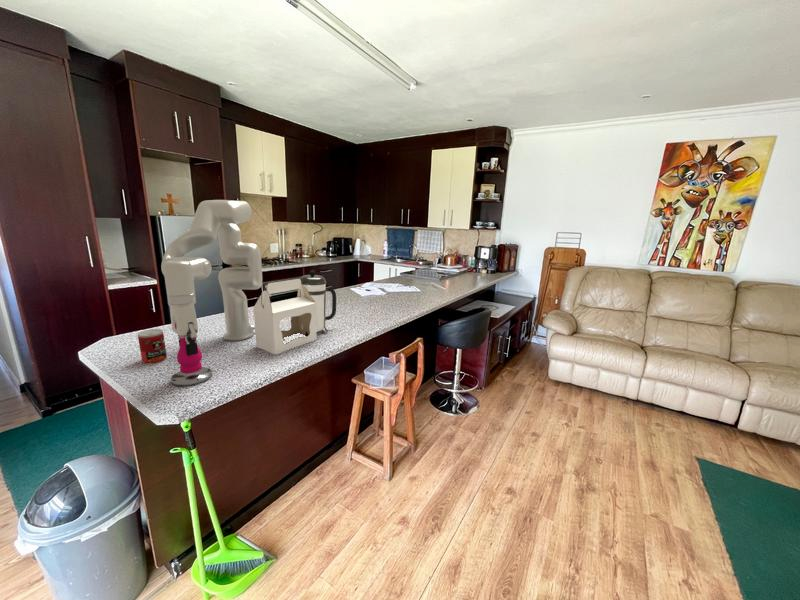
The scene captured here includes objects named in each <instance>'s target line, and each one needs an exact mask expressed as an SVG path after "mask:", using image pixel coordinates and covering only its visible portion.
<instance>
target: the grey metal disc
mask: <svg viewBox="0 0 800 600" xmlns="http://www.w3.org/2000/svg"><path fill="white" fill-rule="evenodd" d="M211 378H213V370H212V369H211V368H210V367H206V366H205V367H204V366H202V369H201V370H199V371H197V372H194V373H187V374H186V373H182V372H181V371H178V372H176V373H174V374H173V375H171V377H170V384H171V385H172V386H173V387H178V388H183V387H184V388H185V387H192V386H197V385H200V384H204V383H205V382H207V381H209V380H210V379H211Z"/></svg>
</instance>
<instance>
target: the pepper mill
mask: <svg viewBox="0 0 800 600" xmlns="http://www.w3.org/2000/svg"><path fill="white" fill-rule="evenodd" d="M176 326H177V325H176V324H175V329H177V327H176ZM187 334H190V332H188V333H187ZM178 337H179V338H180V347H179V349H178V351H177V356H176V361H177V363H178V364H179V370H180V371H181V372H182V373H186V374H187V373H194V372H197V371H199V370H201V369H202V367H203V363H202V362H201V361H202V359H203V357H204V356H203V353H202V351H201V349H200V348H199V345H197V348H198V353H197V354H194V355H190V356H187V354H186V347H185V344H186V340H185V336H183V337H182V336H180V335H178V334H177V338H178ZM189 337H191V336H188V340H189ZM179 338H178V339H179ZM180 371H179V372H180Z"/></svg>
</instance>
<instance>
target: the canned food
mask: <svg viewBox="0 0 800 600" xmlns="http://www.w3.org/2000/svg"><path fill="white" fill-rule="evenodd" d="M137 339H138V345H139V351H140V357H141V361H142V362H144V364H146V363H147V365H148V363H152V364H156V363H157V362H158V363H161V362H163V361H165V360H166V359H167V357H168V355H167V350H166V342H165V336H164V331H163V329H160V328H151V329H146V330H143V331H139V332H138V333H137Z"/></svg>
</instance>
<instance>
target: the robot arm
mask: <svg viewBox="0 0 800 600" xmlns="http://www.w3.org/2000/svg"><path fill="white" fill-rule="evenodd" d="M251 218H252V207H251V205H250V204H249V203H248V202H247V201H246V200H235V199H233V200H230V199H212V200H211V199H209V200H208V199H207V200H203V201H201V202H199V204H198V205H197V209H196V211H195V213H194V217H193V220H192V222H191V224H190V227H189V229H188V230H187V231H186V232H183V233H182V234H181V235H179V236H178V237H177V238H175V239H174V240H173V241H172V242H171V243H169V244H168V246H167V247H166V250H165V252H164V255H163V257H162V261H161V265H160V267H161V273H162V275H163V276H164V280H165V281H164V282H165V289H166V296H167V304H168V306H169V307H170V308H169V309H170V320H171V330H172V331H173V332H174V333H175V334H177V338H178V347H179V348H180V338H179V337H178V335H180V336H182V337H183V336H185V340H186V344H185V347H186V354H187V356H190V355H194V354H197V353H198V348H197V346H198V343H197V342H198V339H197V338H198V335H197V333H198V332H199V326H198V319H197V314H196V313H197V312H196V308H195V304H197V298H196V297H197V296H196V290H195V281H200V280H205V279H207V278H208V277H209V276H210V275H211V274H212V270H213V268H212V264H211V261H210V260H209V259H206V258H204V257H198V256H197V257H196V256H186V255H187V254H188V253H190V252H191V251H194V250H198V249H201V248H203V247H207V246H209V245H212V244H213V243H214V242H215V241H216V240H217V235H218V237H219V250H220V259H221V260H222V263H224V264H226V265H234V266H235V265H239V266H240V265H241V266H243V265H244V266H247V267H225V268H222V269H221V270H220V271H219V272H218V283H219V286H220V289H221V294H222V302H223V311H224V320H225V321H224V322H225V330H226V332H225V333H223V334H222V338H223V339H224V340H225V341H231V342H232V341H233V342H236V341H238V342H239V341H243V340H248V339H250V338H251V337H253V336H254V330H255V323H254V324H250V320H249V308H248V298H247V295H246V294H245V292H244V291H243V290H251V291H253V290H258V289H260V288H262V284H263V266H262V253H261V250H260V247H259V246H258V245H257V244H256V243H253V242H243V241H242V231H241V228H240V227H239V226H238V224H244V223H248V222H249V221H251ZM175 324H176V325H177V326H176V327H177V329H175ZM188 332H190V334H187V333H188ZM188 336H191V337H189V340H188Z"/></svg>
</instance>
